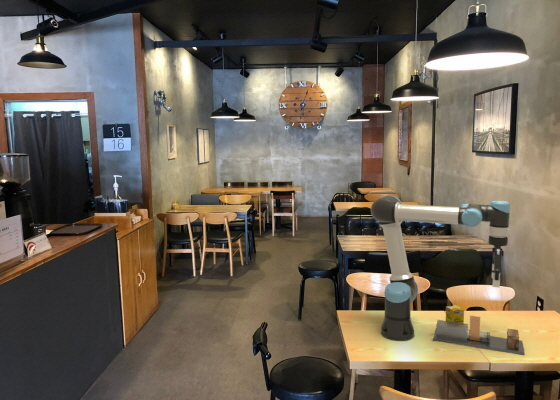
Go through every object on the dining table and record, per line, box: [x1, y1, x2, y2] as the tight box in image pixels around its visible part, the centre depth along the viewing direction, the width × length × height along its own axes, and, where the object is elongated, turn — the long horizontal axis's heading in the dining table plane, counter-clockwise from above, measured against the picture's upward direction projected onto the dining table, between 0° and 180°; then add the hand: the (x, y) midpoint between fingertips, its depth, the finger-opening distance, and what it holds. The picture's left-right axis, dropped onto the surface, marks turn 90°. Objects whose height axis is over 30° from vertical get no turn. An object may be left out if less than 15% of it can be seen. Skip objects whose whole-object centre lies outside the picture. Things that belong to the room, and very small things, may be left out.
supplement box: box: [445, 304, 465, 323], centre depth 201 cm, size 6×6×11 cm
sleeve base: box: [432, 319, 525, 356], centre depth 188 cm, size 36×12×6 cm, turn 64°
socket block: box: [506, 328, 520, 349], centre depth 182 cm, size 4×8×6 cm, turn 154°
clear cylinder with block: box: [467, 315, 491, 341], centre depth 190 cm, size 20×4×10 cm, turn 64°
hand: (495, 282), depth 188 cm, fingers open, 13 cm apart
